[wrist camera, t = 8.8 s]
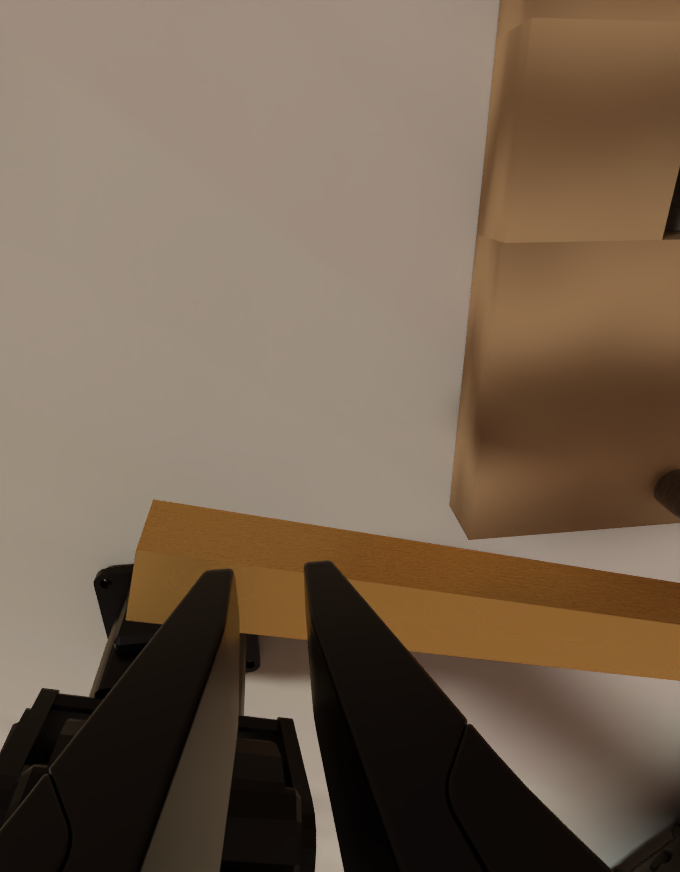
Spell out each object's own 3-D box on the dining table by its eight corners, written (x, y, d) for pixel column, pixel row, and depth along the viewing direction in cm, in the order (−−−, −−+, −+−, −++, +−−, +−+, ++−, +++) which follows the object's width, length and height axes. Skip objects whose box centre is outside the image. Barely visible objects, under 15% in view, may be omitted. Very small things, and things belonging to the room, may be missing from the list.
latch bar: (700, 473, 21) (975, 664, 13) (679, 507, 22) (928, 709, 14) (198, 364, 17) (136, 547, 9) (190, 410, 18) (125, 622, 9)
